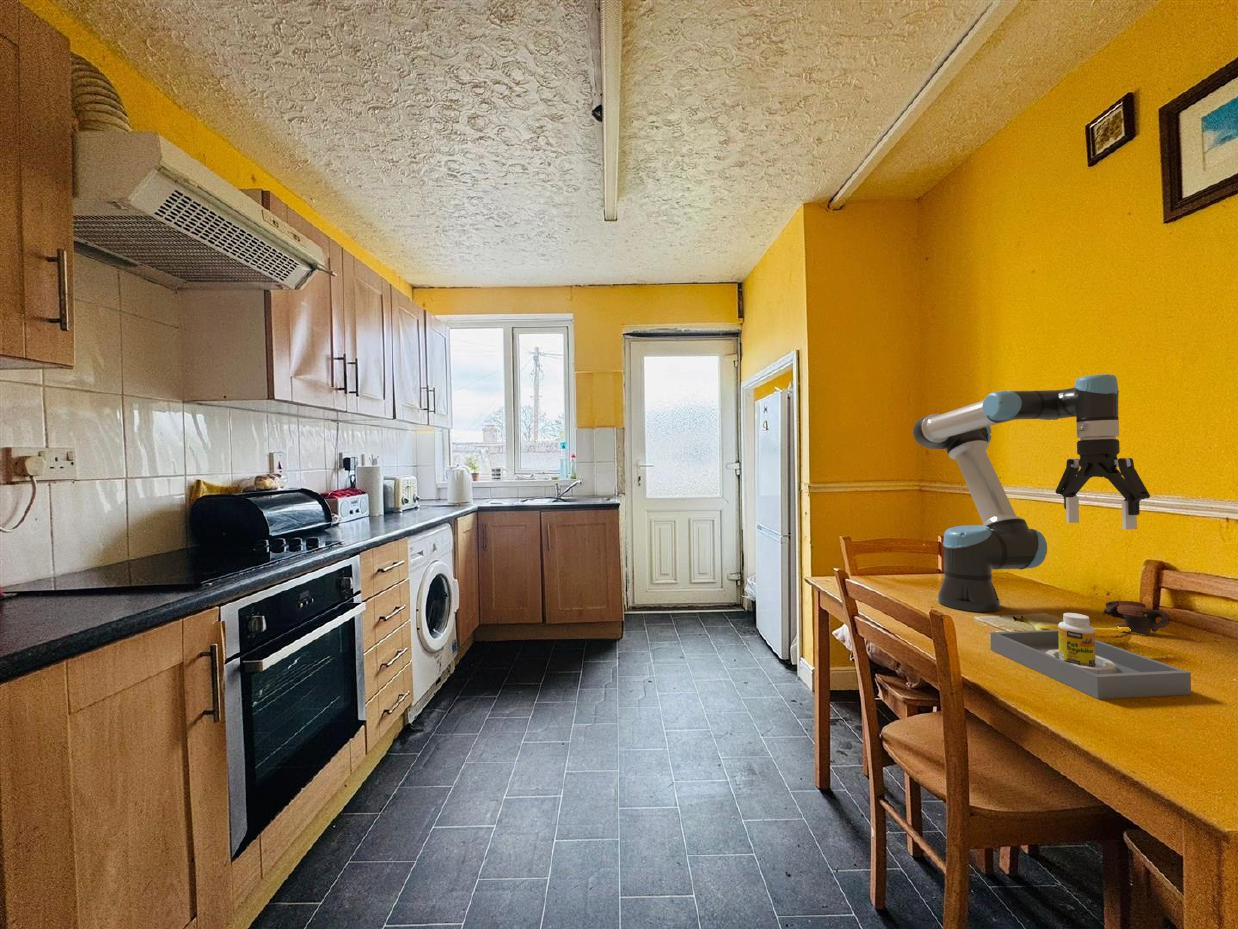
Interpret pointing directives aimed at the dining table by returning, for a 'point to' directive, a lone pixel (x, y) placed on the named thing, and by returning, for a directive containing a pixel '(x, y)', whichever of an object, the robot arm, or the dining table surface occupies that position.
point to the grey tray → (1109, 677)
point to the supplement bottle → (1076, 640)
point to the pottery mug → (1136, 616)
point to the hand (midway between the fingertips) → (1099, 525)
